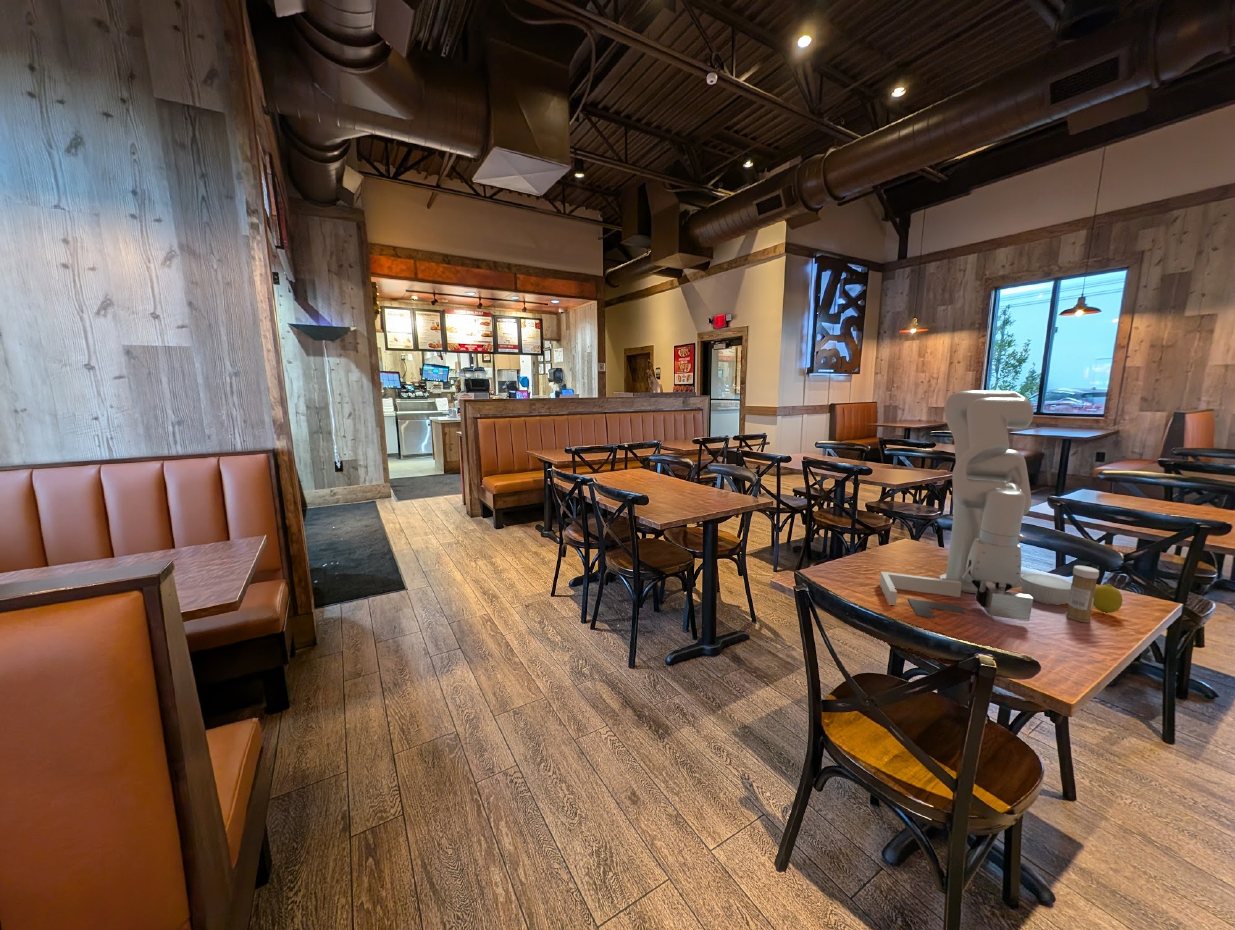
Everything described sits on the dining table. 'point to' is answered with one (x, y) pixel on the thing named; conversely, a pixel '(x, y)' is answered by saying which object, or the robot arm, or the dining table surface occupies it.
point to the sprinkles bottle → (1082, 593)
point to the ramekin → (1046, 588)
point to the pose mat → (932, 607)
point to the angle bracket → (1007, 603)
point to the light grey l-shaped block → (916, 585)
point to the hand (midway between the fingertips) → (987, 604)
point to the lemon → (1107, 598)
